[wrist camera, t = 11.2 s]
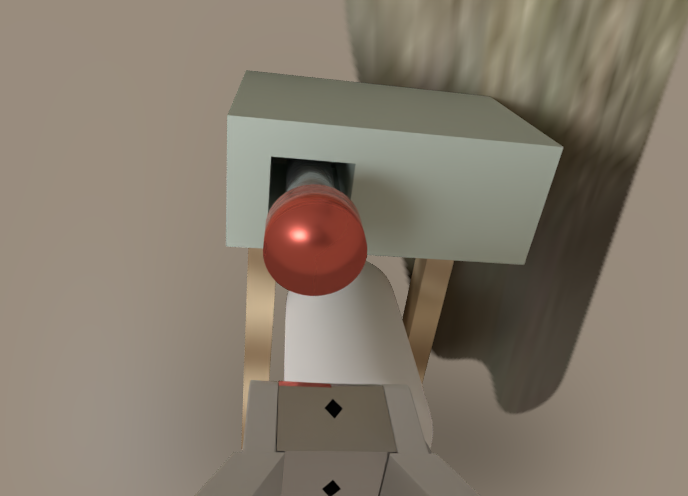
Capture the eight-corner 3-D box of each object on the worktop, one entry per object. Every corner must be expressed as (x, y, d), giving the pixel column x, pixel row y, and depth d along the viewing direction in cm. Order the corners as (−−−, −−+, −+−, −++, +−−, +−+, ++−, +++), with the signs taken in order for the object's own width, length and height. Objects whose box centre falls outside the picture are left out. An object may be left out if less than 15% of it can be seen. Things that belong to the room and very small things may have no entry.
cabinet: (246, 70, 24) (227, 115, 17) (489, 96, 26) (563, 147, 19) (243, 171, 26) (226, 246, 19) (466, 189, 28) (524, 264, 21)
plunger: (273, 123, 20) (265, 201, 14) (348, 131, 21) (374, 209, 14) (270, 193, 22) (260, 293, 15) (340, 199, 22) (360, 298, 16)
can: (354, 232, 29) (390, 387, 18) (412, 307, 32) (471, 477, 21) (263, 290, 30) (247, 465, 20) (326, 357, 33) (342, 540, 23)
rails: (252, 198, 27) (249, 214, 25) (451, 213, 29) (462, 229, 27) (243, 424, 35) (241, 448, 34) (399, 427, 37) (405, 450, 35)
